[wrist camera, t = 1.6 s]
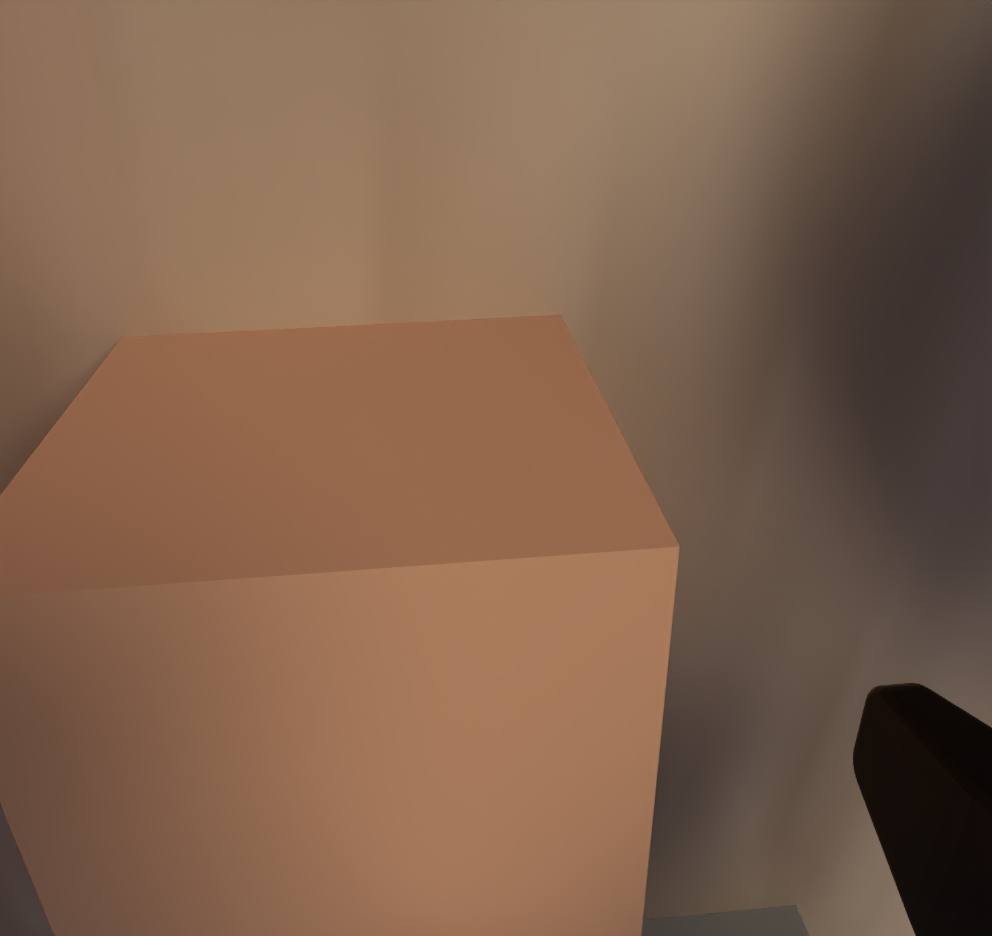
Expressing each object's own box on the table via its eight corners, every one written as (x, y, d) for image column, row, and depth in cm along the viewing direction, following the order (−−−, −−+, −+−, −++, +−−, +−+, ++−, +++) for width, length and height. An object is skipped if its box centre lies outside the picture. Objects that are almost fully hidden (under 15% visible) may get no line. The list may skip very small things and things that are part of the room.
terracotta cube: (559, 312, 10) (679, 546, 6) (553, 644, 13) (636, 983, 8) (124, 334, 10) (-81, 601, 6) (201, 672, 12) (97, 1043, 8)
